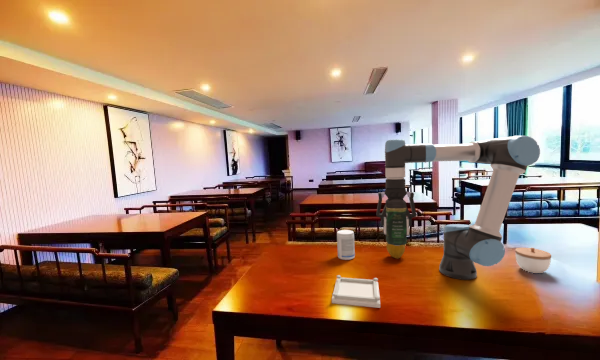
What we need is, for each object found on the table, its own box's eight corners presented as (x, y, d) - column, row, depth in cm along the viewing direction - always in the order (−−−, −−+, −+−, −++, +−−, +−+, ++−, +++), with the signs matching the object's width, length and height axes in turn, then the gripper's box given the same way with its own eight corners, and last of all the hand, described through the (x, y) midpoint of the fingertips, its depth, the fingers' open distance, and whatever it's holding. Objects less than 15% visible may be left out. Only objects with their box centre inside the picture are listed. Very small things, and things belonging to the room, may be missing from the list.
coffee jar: (408, 246, 101) (407, 199, 100) (387, 246, 103) (386, 199, 102) (404, 239, 111) (404, 196, 109) (385, 238, 113) (384, 196, 111)
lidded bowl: (548, 279, 114) (549, 254, 113) (512, 270, 124) (512, 248, 123) (552, 270, 122) (552, 247, 122) (517, 263, 132) (518, 242, 131)
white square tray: (378, 285, 114) (377, 277, 114) (380, 307, 97) (380, 299, 97) (336, 281, 119) (336, 274, 118) (332, 303, 101) (331, 294, 101)
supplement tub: (358, 256, 148) (357, 231, 147) (348, 261, 141) (347, 235, 140) (344, 253, 155) (343, 228, 154) (334, 257, 148) (333, 232, 147)
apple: (384, 254, 151) (384, 234, 150) (402, 254, 150) (402, 234, 149) (388, 260, 141) (388, 239, 140) (407, 260, 140) (406, 239, 139)
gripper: (421, 176, 106) (421, 231, 108) (368, 178, 111) (369, 230, 113) (425, 178, 99) (425, 237, 101) (368, 179, 104) (370, 235, 106)
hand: (396, 233), depth 107 cm, fingers closed on coffee jar, 8 cm apart
